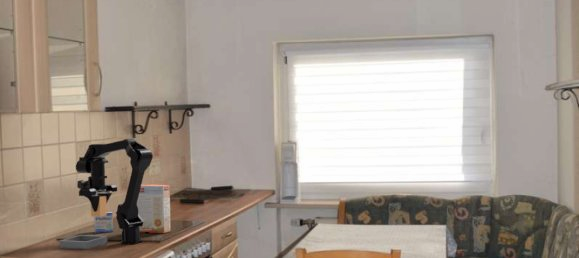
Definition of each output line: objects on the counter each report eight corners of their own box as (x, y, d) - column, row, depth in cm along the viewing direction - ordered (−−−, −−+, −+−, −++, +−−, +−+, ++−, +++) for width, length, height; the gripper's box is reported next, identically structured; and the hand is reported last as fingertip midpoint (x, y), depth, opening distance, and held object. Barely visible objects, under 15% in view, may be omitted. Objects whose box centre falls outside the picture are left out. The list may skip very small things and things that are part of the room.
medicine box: (94, 233, 315) (94, 213, 314) (94, 231, 319) (94, 212, 319) (113, 231, 317) (112, 212, 317) (112, 230, 321) (112, 211, 321)
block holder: (107, 243, 288) (107, 236, 288) (87, 249, 276) (86, 242, 276) (80, 242, 293) (80, 234, 293) (59, 248, 281) (59, 240, 281)
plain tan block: (106, 215, 300) (106, 196, 299) (100, 216, 295) (99, 197, 295) (97, 214, 301) (97, 195, 301) (91, 216, 297) (90, 197, 297)
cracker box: (171, 231, 314) (170, 184, 314) (164, 233, 309) (162, 185, 308) (144, 230, 320) (143, 183, 319) (136, 232, 314) (135, 185, 314)
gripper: (96, 171, 310) (97, 207, 310) (67, 175, 292) (68, 213, 293) (117, 171, 305) (118, 208, 306) (89, 175, 288) (90, 214, 289)
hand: (98, 210), depth 298 cm, fingers closed on plain tan block, 4 cm apart
